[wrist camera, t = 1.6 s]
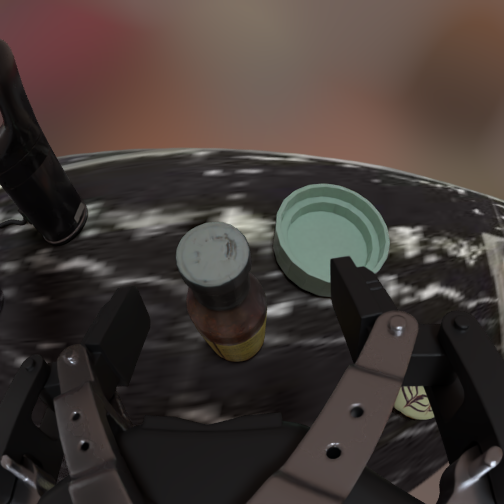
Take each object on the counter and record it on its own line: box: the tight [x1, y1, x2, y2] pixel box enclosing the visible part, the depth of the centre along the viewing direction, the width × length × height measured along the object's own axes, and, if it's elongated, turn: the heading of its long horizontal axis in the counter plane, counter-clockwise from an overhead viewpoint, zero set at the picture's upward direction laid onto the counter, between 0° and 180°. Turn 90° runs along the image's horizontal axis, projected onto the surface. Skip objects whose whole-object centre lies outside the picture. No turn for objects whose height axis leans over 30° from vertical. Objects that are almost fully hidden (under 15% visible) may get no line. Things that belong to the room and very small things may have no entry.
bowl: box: [273, 184, 390, 297], centre depth 36 cm, size 15×15×5 cm
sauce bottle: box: [176, 222, 267, 362], centre depth 23 cm, size 7×6×20 cm
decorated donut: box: [393, 386, 434, 419], centre depth 27 cm, size 10×11×4 cm
